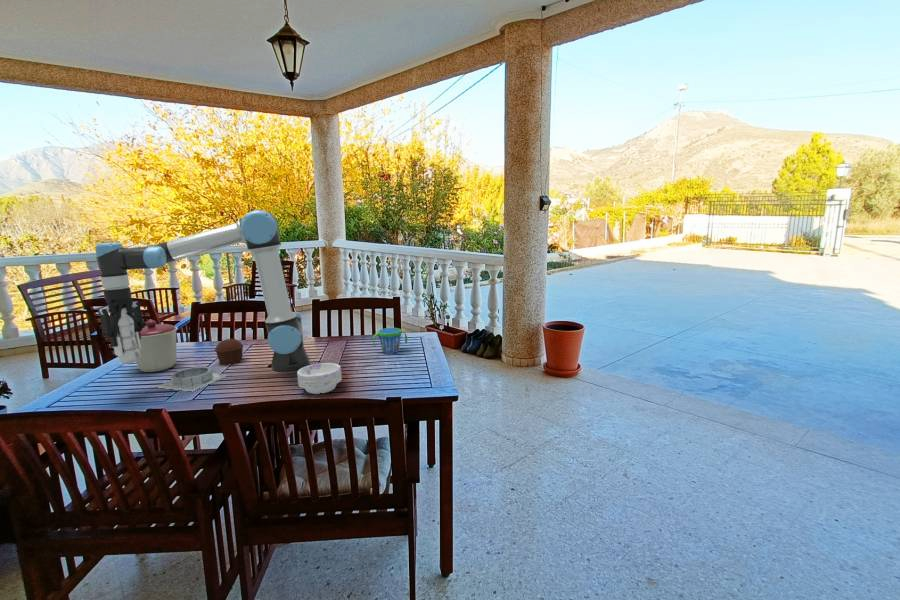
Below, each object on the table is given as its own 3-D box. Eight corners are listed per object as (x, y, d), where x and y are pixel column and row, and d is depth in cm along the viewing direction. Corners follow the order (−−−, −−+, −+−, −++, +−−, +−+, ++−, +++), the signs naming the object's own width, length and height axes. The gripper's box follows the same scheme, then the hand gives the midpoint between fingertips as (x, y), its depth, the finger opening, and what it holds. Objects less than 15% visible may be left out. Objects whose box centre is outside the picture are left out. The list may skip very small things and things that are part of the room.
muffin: (219, 359, 198) (216, 337, 197) (246, 356, 202) (243, 335, 200) (214, 367, 187) (211, 345, 185) (242, 364, 191) (240, 342, 189)
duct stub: (225, 376, 176) (224, 367, 175) (192, 392, 161) (191, 381, 160) (193, 373, 181) (192, 364, 180) (158, 388, 166) (156, 378, 165)
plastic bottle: (130, 365, 154) (119, 309, 150) (114, 365, 155) (103, 309, 151) (146, 359, 160) (136, 305, 156) (130, 359, 161) (120, 305, 158)
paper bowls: (317, 379, 171) (316, 359, 169) (350, 384, 165) (349, 364, 163) (289, 394, 157) (287, 373, 155) (324, 400, 151) (322, 378, 150)
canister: (184, 369, 186) (177, 320, 182) (132, 379, 176) (123, 327, 172) (180, 358, 201) (174, 313, 197) (132, 367, 190) (124, 319, 186)
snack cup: (373, 356, 197) (372, 334, 195) (373, 349, 207) (372, 328, 205) (408, 354, 199) (407, 332, 197) (406, 347, 210) (406, 326, 208)
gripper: (134, 283, 162) (145, 343, 167) (79, 292, 144) (93, 360, 149) (150, 283, 160) (160, 344, 165) (96, 293, 142) (109, 361, 147)
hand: (128, 352), depth 157 cm, fingers closed on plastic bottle, 6 cm apart
